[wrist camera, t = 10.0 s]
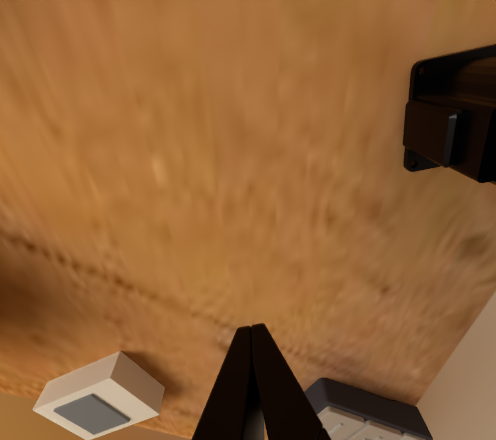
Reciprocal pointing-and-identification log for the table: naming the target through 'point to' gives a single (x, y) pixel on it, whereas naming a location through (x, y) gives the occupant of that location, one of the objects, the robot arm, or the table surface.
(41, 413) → the white box grey panel
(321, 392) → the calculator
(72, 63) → the table surface
